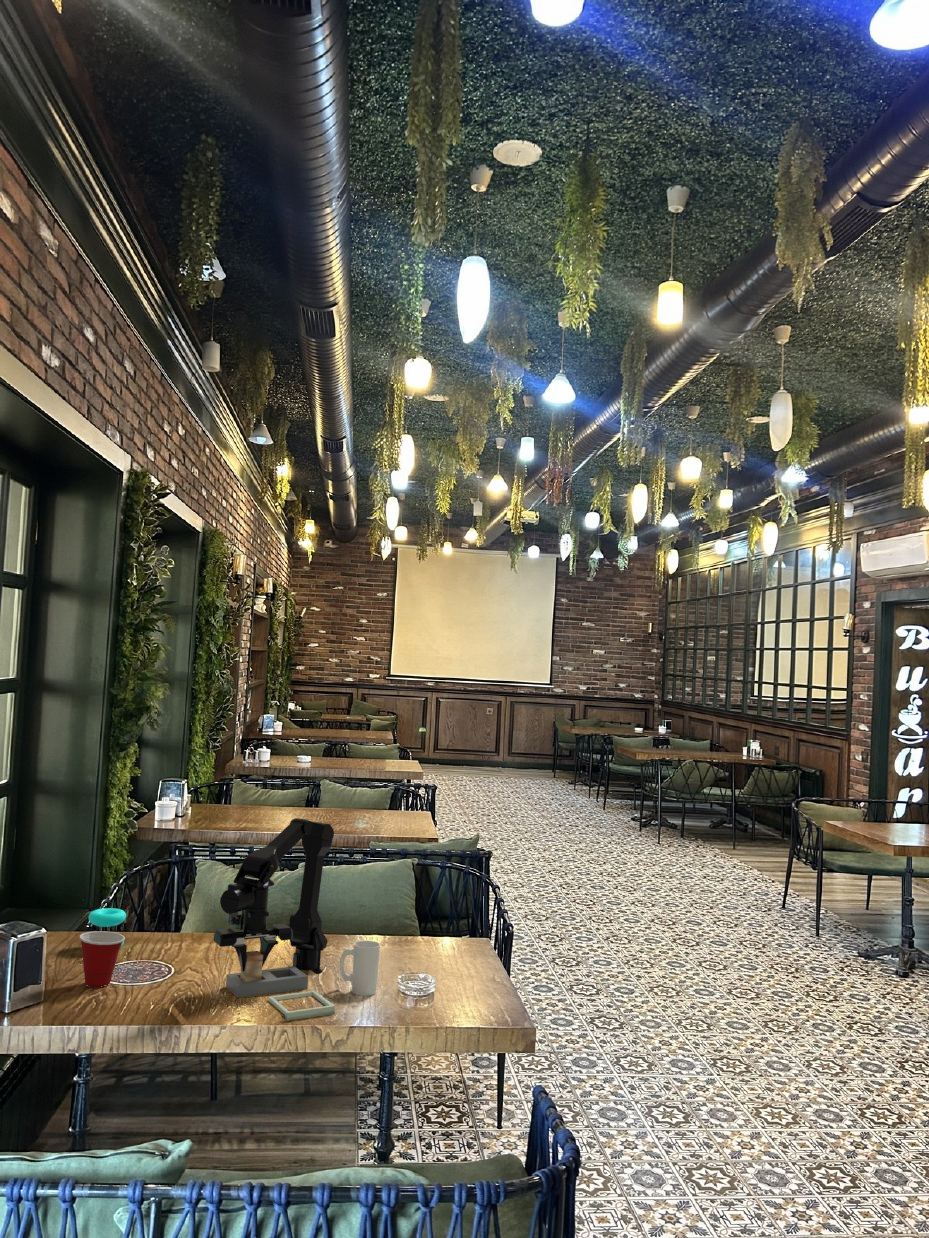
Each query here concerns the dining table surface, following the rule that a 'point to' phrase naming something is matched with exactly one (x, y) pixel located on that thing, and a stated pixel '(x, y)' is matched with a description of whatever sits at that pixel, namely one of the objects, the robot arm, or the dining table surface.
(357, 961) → the mug
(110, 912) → the donuts
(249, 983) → the grey cinder block
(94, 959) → the plastic cup
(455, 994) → the dining table surface
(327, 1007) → the tray
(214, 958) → the dining table surface
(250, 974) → the plug
